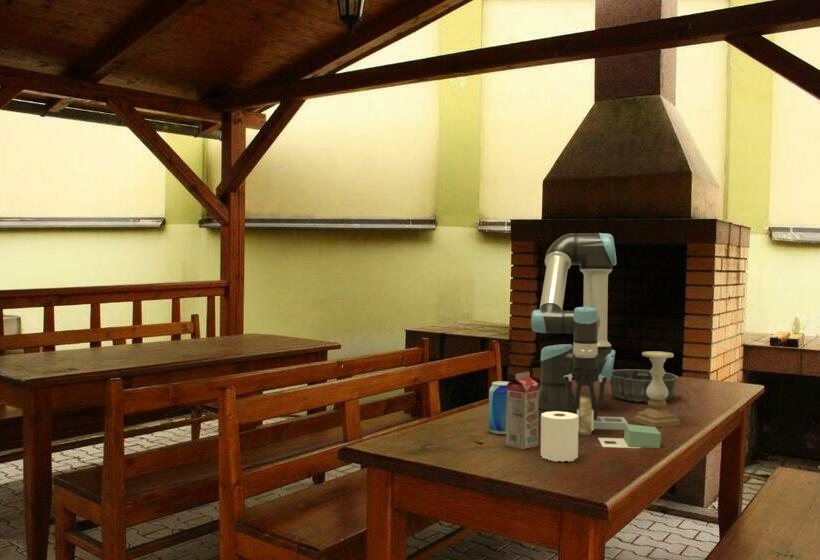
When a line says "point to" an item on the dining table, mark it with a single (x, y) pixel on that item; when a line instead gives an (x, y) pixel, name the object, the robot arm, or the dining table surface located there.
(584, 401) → the peg
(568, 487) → the dining table surface
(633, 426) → the cover
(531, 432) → the juice carton
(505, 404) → the beer can
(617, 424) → the grey double window frame
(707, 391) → the dining table surface
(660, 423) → the candle holder
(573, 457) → the toilet paper
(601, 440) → the mat
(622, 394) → the bundt pan
